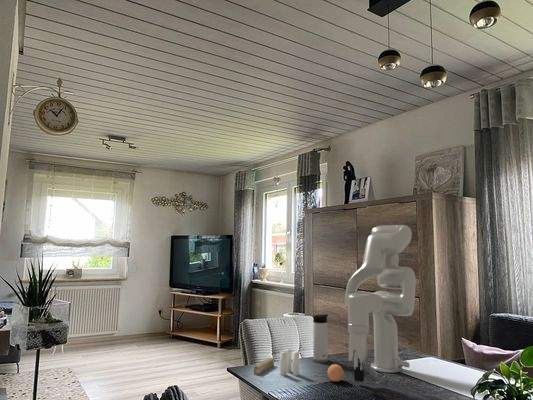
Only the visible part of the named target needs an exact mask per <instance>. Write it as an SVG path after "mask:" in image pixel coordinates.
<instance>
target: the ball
mask: <svg viewBox="0 0 533 400" xmlns="http://www.w3.org/2000/svg"><path fill="white" fill-rule="evenodd" d="M344 374H345V373H344V369H343V368H342V366H341V365H339V364H336V363H333V364H331V365H330V366H329V367H328V368H327V376H328V378H329V379H330V381H332V382H340V381H341V380H342V379H343V378H344V376H345V375H344Z"/></svg>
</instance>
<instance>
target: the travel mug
mask: <svg viewBox="0 0 533 400" xmlns="http://www.w3.org/2000/svg"><path fill="white" fill-rule="evenodd" d="M327 317H329V314H316V315H313V317H312V319H313V321H312V336H313V337H312V338H313V339H312V344H313V345H312V350H313V351H312V352H313V353H312V354H313V355H312V356H313V357H312V360H313V361H314V362H315V363H327V362H328V318H327Z"/></svg>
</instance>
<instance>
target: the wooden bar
mask: <svg viewBox="0 0 533 400" xmlns="http://www.w3.org/2000/svg"><path fill="white" fill-rule="evenodd" d="M274 365H275V359H274V357H268V358H266V359H265V360H262V361H261V362H259V363H257V364H255V365H254V366H253V375H258V376H259V375H261V374H262V373H263V372H265V371H267V370H269V369H270V368H272V367H274Z"/></svg>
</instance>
